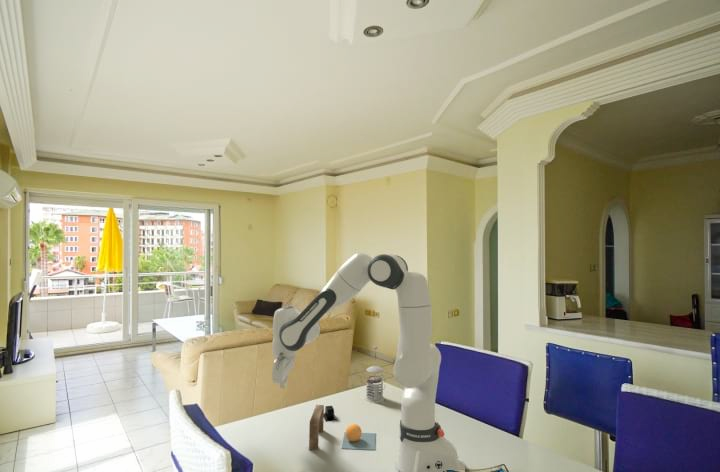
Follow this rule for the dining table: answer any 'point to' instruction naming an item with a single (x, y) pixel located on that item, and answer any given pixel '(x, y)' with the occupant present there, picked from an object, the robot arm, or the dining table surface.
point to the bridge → (316, 426)
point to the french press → (374, 385)
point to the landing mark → (360, 442)
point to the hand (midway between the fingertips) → (283, 386)
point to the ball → (353, 432)
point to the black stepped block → (329, 414)
